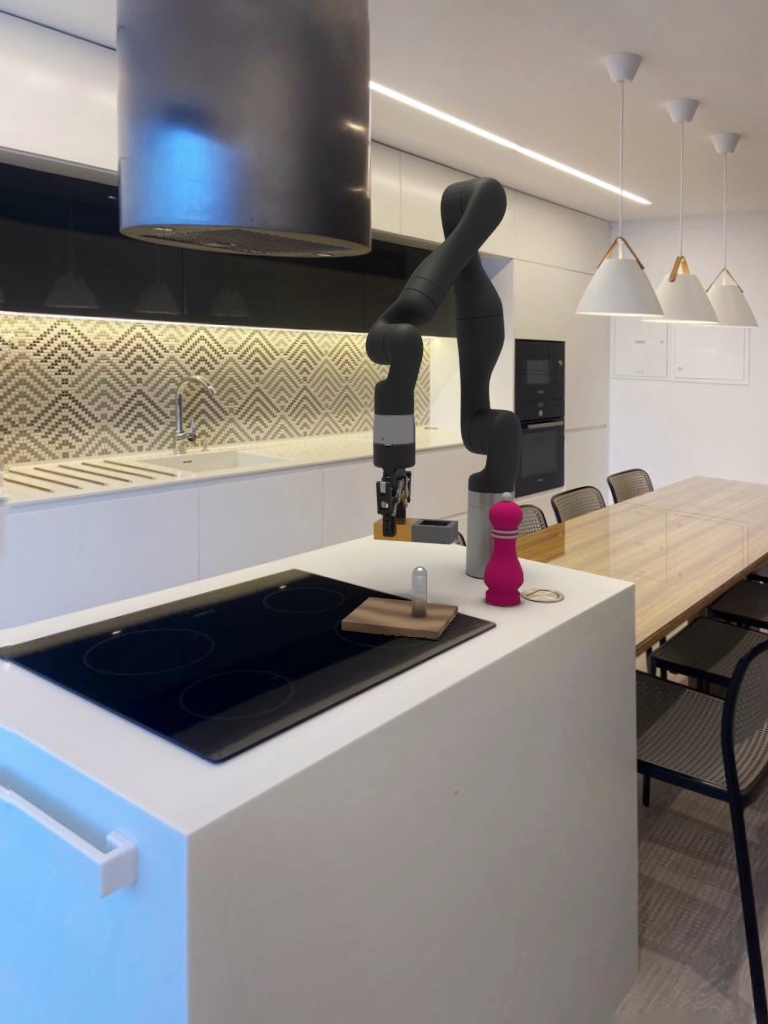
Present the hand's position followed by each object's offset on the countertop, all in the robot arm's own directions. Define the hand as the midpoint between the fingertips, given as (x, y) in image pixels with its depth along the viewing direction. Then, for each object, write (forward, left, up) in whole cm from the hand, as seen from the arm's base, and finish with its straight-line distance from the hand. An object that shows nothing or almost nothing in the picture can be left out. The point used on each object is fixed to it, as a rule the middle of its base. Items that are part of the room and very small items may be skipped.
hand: (394, 532), depth 148 cm
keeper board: (+13, +5, -12) cm, 19 cm away
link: (0, +4, -1) cm, 4 cm away
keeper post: (+13, +8, -11) cm, 19 cm away
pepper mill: (-4, +19, -12) cm, 23 cm away
